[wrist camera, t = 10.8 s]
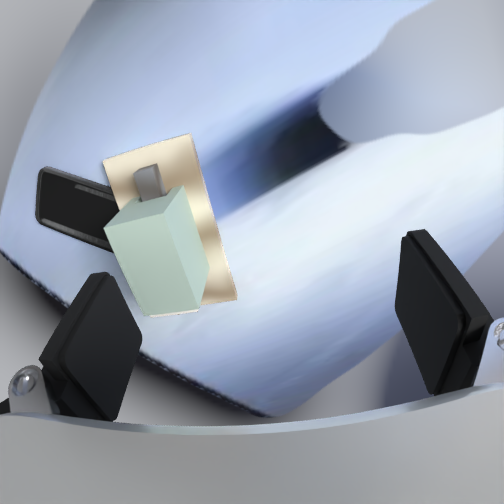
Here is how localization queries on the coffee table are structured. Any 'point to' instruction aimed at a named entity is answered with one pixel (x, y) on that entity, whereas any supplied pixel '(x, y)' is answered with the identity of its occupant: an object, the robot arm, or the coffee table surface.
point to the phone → (75, 206)
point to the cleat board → (160, 183)
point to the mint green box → (160, 253)
